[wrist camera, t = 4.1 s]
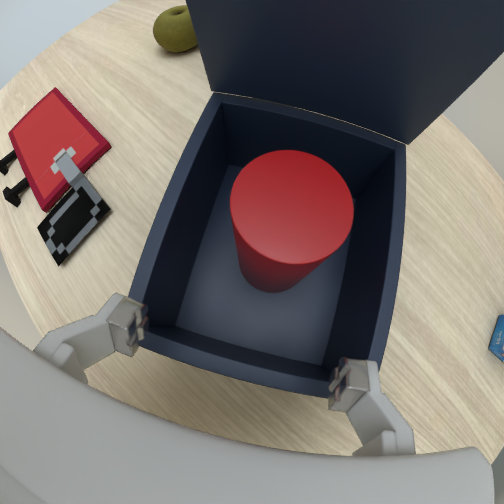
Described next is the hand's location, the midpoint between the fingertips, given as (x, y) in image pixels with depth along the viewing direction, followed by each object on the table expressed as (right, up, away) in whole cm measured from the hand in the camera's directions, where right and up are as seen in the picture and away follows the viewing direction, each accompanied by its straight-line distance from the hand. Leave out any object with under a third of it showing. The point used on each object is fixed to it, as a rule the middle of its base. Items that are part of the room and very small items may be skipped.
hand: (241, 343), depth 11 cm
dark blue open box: (+2, +3, +15) cm, 15 cm away
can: (+2, +3, +14) cm, 14 cm away
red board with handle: (-27, +16, +18) cm, 36 cm away
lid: (+4, +14, -3) cm, 15 cm away
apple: (-10, +35, +23) cm, 44 cm away
